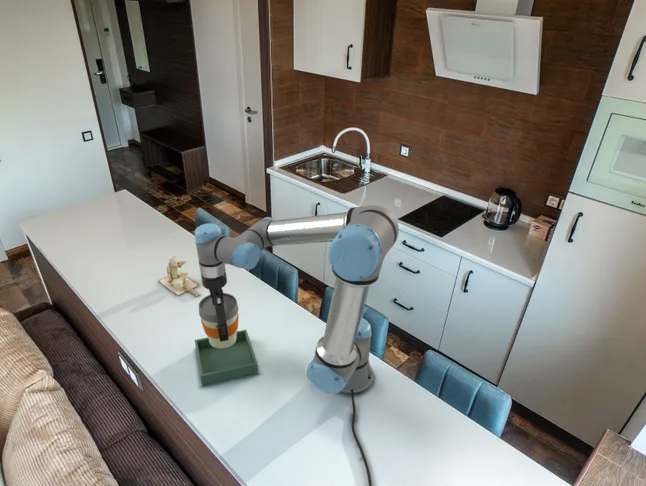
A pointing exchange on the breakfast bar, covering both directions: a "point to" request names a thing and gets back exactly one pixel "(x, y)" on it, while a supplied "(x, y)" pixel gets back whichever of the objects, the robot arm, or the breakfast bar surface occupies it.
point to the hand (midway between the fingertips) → (221, 327)
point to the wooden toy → (178, 279)
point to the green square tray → (225, 360)
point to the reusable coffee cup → (210, 321)
